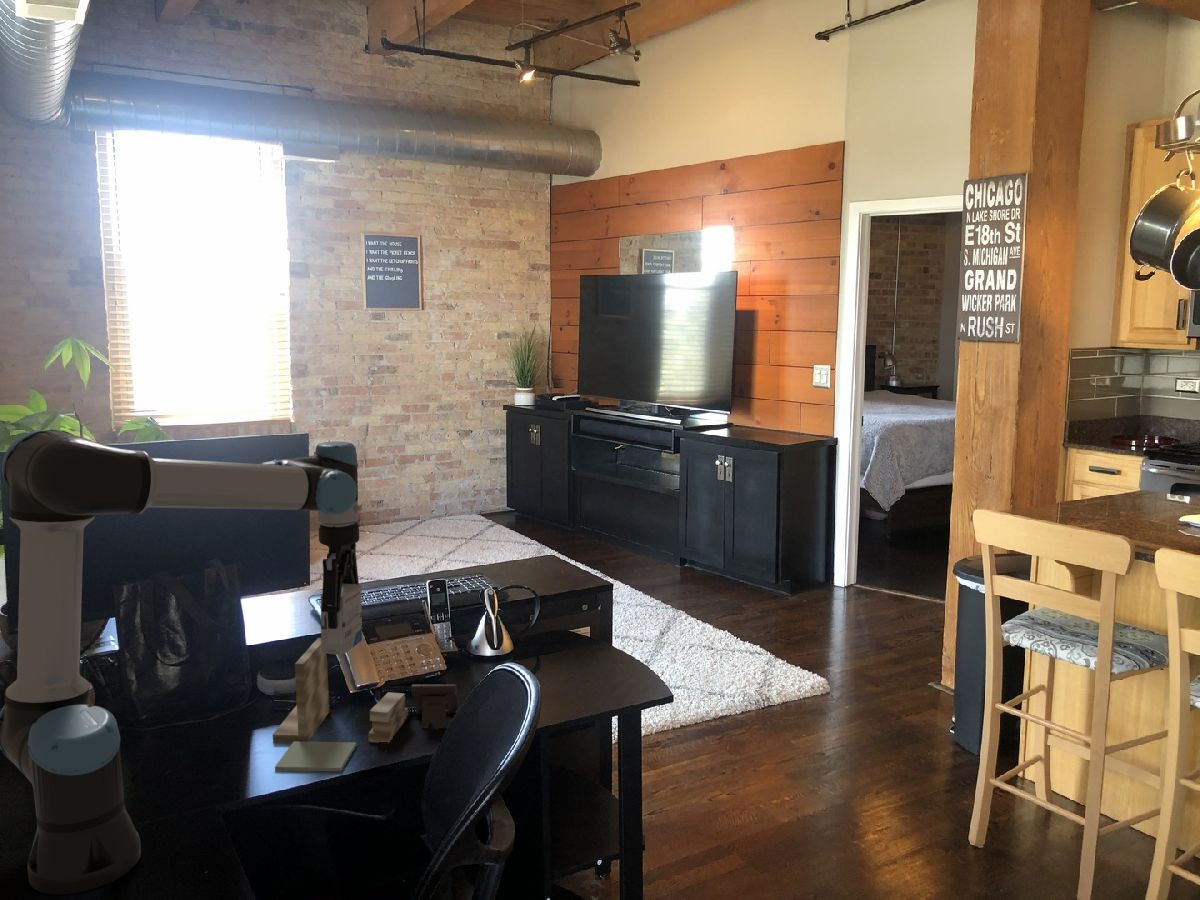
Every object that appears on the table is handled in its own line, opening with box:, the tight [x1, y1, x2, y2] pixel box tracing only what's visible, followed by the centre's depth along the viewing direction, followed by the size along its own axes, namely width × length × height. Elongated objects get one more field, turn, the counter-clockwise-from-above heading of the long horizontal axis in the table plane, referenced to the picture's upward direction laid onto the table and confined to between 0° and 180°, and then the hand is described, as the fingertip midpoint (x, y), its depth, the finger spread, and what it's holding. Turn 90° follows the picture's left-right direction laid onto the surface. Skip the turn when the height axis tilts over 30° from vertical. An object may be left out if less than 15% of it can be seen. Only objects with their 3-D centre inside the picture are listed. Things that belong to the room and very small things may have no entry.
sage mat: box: [274, 741, 357, 773], centre depth 182 cm, size 10×12×1 cm
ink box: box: [320, 583, 363, 656], centre depth 191 cm, size 9×5×12 cm, turn 168°
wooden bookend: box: [272, 637, 330, 744], centre depth 194 cm, size 14×7×16 cm, turn 178°
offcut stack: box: [368, 692, 409, 744], centre depth 194 cm, size 12×4×6 cm, turn 173°
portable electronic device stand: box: [410, 683, 460, 729], centre depth 198 cm, size 9×8×8 cm
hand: (342, 634), depth 191 cm, fingers closed on ink box, 9 cm apart
